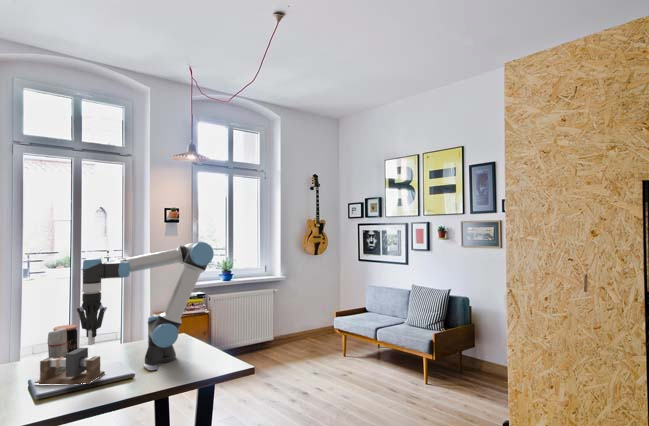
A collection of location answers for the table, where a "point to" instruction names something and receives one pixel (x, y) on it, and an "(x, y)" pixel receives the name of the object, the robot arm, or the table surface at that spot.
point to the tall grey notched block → (75, 362)
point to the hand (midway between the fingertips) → (91, 344)
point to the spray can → (58, 345)
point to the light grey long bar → (62, 362)
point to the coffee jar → (70, 336)
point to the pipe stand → (53, 377)
